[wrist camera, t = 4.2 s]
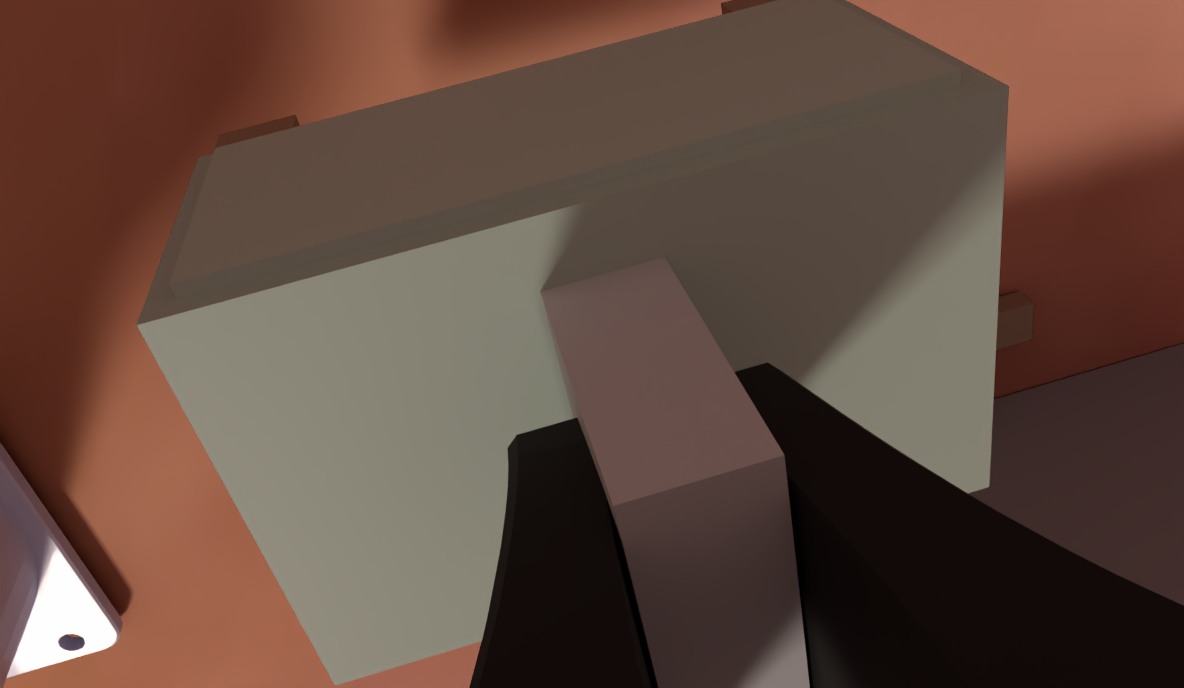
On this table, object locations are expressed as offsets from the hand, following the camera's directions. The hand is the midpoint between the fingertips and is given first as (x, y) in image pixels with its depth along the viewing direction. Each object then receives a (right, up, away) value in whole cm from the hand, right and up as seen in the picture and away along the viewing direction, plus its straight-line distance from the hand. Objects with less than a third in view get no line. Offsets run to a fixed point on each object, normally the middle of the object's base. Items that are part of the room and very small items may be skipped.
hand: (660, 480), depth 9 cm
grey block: (-1, +3, +5) cm, 6 cm away
